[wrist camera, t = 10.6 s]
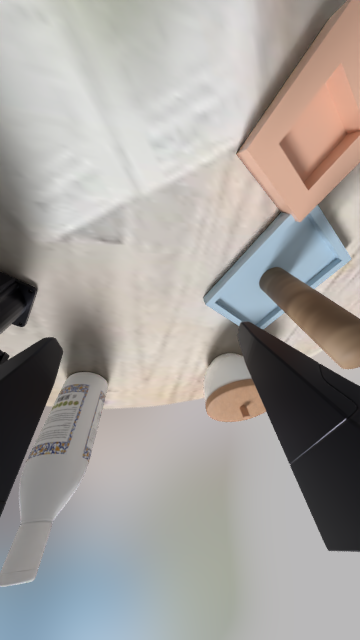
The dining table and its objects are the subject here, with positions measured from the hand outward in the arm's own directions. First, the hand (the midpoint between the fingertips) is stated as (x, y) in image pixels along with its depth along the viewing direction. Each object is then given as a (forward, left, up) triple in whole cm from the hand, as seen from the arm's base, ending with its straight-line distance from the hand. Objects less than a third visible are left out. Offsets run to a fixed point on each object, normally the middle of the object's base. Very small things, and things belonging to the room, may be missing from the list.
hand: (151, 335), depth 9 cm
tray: (+6, -13, -13) cm, 19 cm away
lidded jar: (-9, -21, -13) cm, 26 cm away
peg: (+6, -13, -12) cm, 19 cm away
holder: (+15, -5, -13) cm, 20 cm away
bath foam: (-26, -2, -13) cm, 29 cm away
